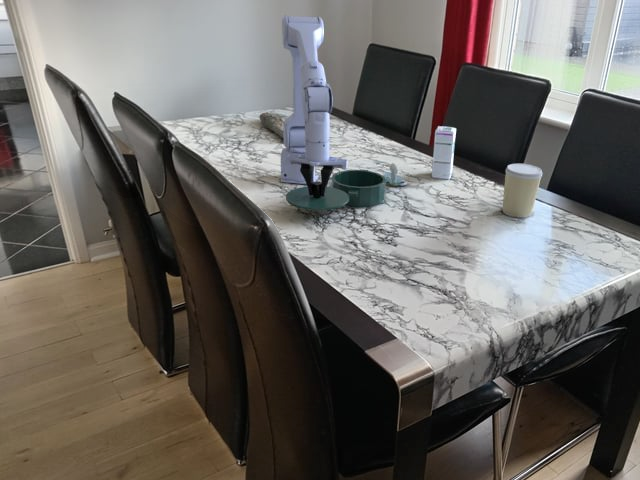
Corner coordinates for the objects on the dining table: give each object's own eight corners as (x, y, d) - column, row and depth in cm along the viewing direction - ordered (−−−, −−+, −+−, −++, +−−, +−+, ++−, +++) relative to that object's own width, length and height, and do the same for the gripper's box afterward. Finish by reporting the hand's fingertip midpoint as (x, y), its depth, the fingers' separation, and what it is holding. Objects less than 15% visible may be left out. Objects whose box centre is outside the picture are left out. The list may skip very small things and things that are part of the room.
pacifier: (397, 179, 173) (380, 181, 170) (399, 158, 170) (382, 160, 167) (411, 186, 168) (394, 188, 165) (413, 165, 165) (396, 167, 162)
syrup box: (449, 179, 175) (455, 131, 167) (430, 177, 175) (435, 129, 168) (451, 174, 180) (457, 127, 172) (433, 172, 180) (437, 125, 173)
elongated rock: (284, 149, 198) (311, 148, 202) (285, 133, 195) (312, 133, 200) (253, 119, 223) (278, 119, 228) (253, 105, 220) (278, 105, 225)
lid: (278, 209, 137) (277, 190, 135) (294, 187, 151) (294, 170, 148) (342, 215, 136) (343, 196, 134) (353, 193, 149) (354, 175, 147)
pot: (324, 208, 149) (324, 188, 147) (338, 183, 167) (339, 165, 164) (380, 213, 148) (381, 193, 146) (388, 187, 166) (389, 169, 163)
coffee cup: (536, 209, 157) (544, 166, 151) (532, 221, 149) (541, 176, 143) (502, 203, 159) (509, 161, 153) (496, 215, 152) (503, 170, 146)
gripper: (282, 141, 133) (284, 197, 139) (344, 147, 132) (343, 203, 138) (290, 134, 139) (291, 187, 146) (349, 139, 138) (348, 193, 145)
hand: (317, 194), depth 142 cm, fingers closed on lid, 2 cm apart
